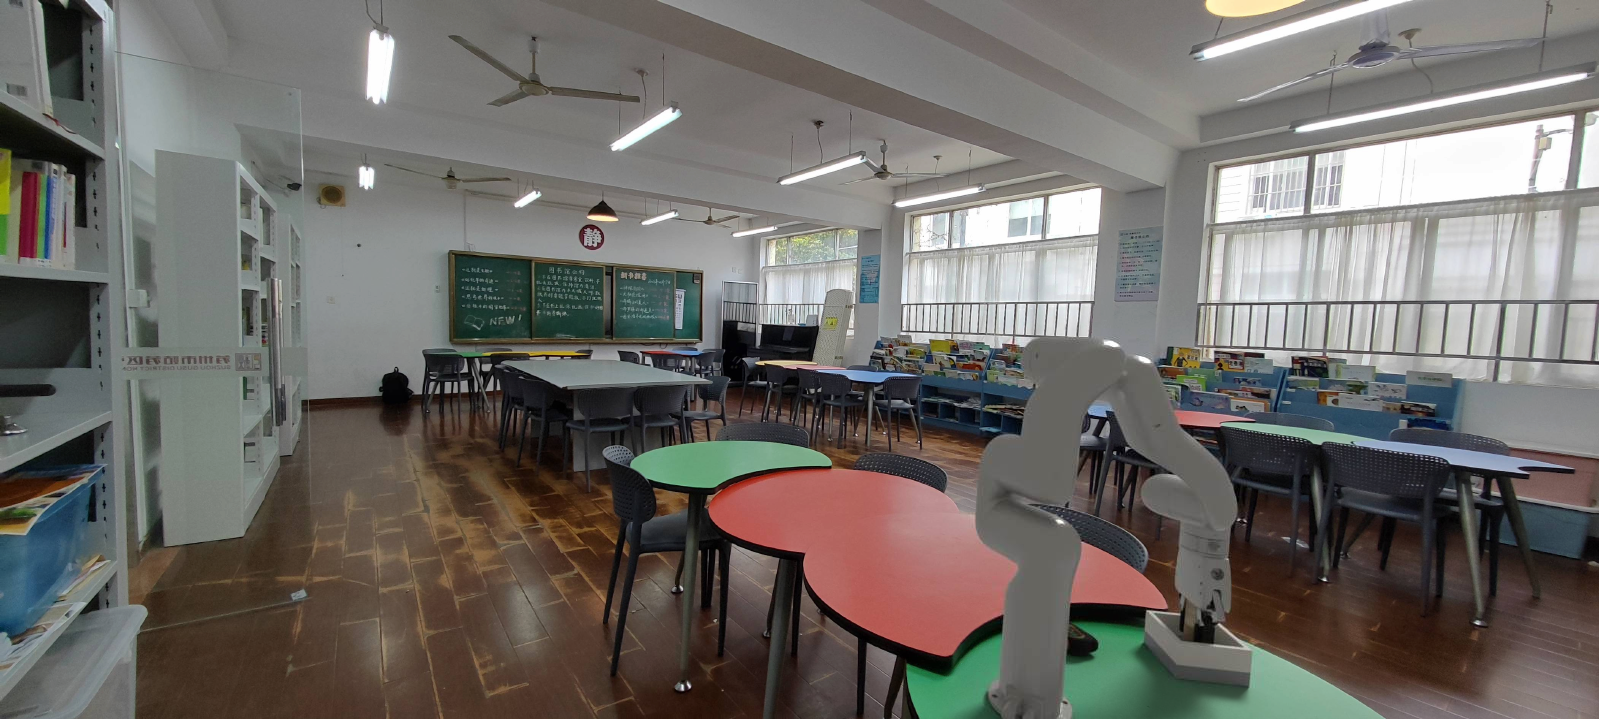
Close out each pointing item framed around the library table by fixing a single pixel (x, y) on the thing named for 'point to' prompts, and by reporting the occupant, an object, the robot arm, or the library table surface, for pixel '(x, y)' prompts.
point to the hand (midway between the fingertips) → (1195, 637)
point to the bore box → (1197, 652)
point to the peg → (1191, 620)
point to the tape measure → (1080, 641)
